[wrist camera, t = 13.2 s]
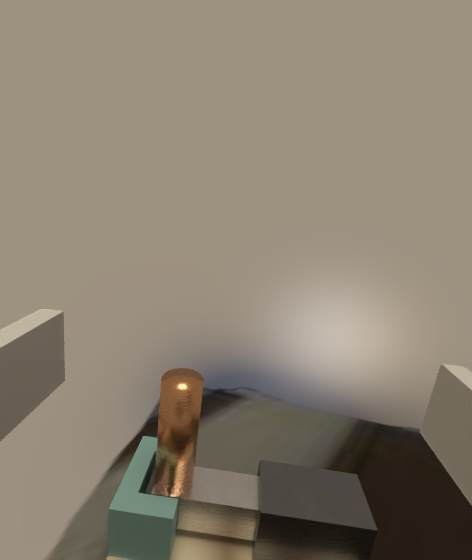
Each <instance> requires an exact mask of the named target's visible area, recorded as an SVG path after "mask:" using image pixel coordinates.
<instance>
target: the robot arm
mask: <svg viewBox="0 0 472 560" xmlns="http://www.w3.org/2000/svg"><path fill="white" fill-rule="evenodd" d="M63 321H64V315H63V311H58V310H50V309H43V308H42V309H40V310H38V311H36V312H34V313H32V314H30V315H28V316H26V317H24V318H22V319H20V320H18V321H16V322H14V323H12V324H10V325H8V326H6V327H4V328H2V329H0V441H1V440H2V439H3V438H4V437H5V436H6V435H7V434H8V433H10V431H12V430H13V429H14V428H15V427H16V426H17V425H18V424H19V423H20V422H21V421H22V420H23V419H24V418H25V417H26V416H28V415H29V414H30V413H31V412H32V411H33V410H34V409H35V408H36V407H37V406H38V405H39V404H40V403H41V402H42V401H43V400H44V399H46V398H47V397H48V396H49V395H50V394H51V393H52V392H53V391H54V390H55V389H56V388H57V387H58V386H59V385H60V384H62V382H64V381H65V372H64V371H65V368H64V322H63ZM420 433H421V435H422V436H423V437H424V439H425V440H426V442H427V443H428V445H429V446H430V447H431V449H432V450H433V452H434V453H435V454H436V456H437V457H438V459H439V460H440V462H441V463H442V464H443V466H444V467H445V469H446V470H447V471H448V473H449V474H450V476H451V477H452V478H453V480H454V481H455V483H456V484H457V486H458V487H459V488H460V490H461V491H462V493H463V494H464V495H465V497H466V498H467V500H468V501H469V503H470V504H471V505H472V373H471V372H470V371H469V370H468V369H466V368H465V367H462V366H455V365H448V364H441V367H440V369H439V373H438V376H437V379H436V382H435V385H434V388H433V391H432V394H431V398H430V401H429V404H428V407H427V410H426V413H425V416H424V420H423V423H422V426H421V429H420Z"/></svg>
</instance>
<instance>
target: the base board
mask: <svg viewBox="0 0 472 560" xmlns="http://www.w3.org/2000/svg"><path fill="white" fill-rule="evenodd" d="M106 560H131V559H125V558H118V557H112V556H107V558H106ZM170 560H252V540H246V539H240V538H233V537H227V536H220V535H214V534H208V533H201V532H195V531H189V530H182V529H177V534H176V538H175V542H174V546H173V551H172V555H171V559H170Z"/></svg>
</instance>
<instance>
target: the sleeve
mask: <svg viewBox="0 0 472 560" xmlns="http://www.w3.org/2000/svg"><path fill="white" fill-rule="evenodd" d="M257 476H259V504H260V511H259V517H258V522H257V528H256V534H255V539H254V541H252V560H369V557H370V553H371V550H372V547H373V544H374V540H375V537H376V534H377V531H378V530H377V528H376V525H375V522H374V519H373V517H372V514H371V511H370V509H369V506H368V503H367V500H366V498H365V495H364V492H363V490H362V487H361V484H360V482H359V479H358V476H357V474H350V473H344V472H337V471H330V470H324V469H317V468H310V467H304V466H297V465H290V464H284V463H277V462H270V461H264V460H260V463H259V469H258V475H257Z"/></svg>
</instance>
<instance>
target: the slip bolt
mask: <svg viewBox="0 0 472 560" xmlns="http://www.w3.org/2000/svg"><path fill="white" fill-rule="evenodd" d="M203 381H204V380H203V377H202V375H201V374H200V373H198V372H197V371H194V370H191V369H186V368H178V369H173V370H170V371H168V372H166V373H165V374H164V375H163V376H162V379H161V394H160V408H159V422H158V436H157V451H156V465H155V468H154V470H153V473H152V476H151V478H150V481H149V484H148V486H147V489H146V492H145V494H150V495H157V496H163V497H170V498H176V499H178V508H177V519H176V529H182V530H189V531H195V532H201V533H208V534H214V535H220V536H227V537H233V538H240V539H246V540H252V541H254V539H255V534H256V528H257V522H258V517H259V511H260V504H259V476H256V475H249V474H242V473H236V472H229V471H223V470H216V469H209V468H203V467H196V466H194V465H195V455H196V446H197V437H198V428H199V418H200V409H201V400H202V390H203Z"/></svg>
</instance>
